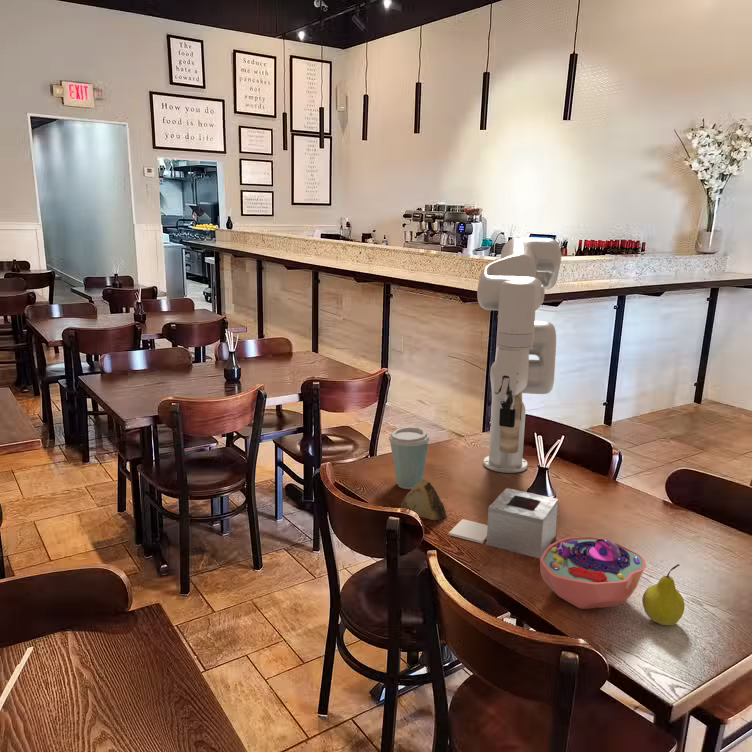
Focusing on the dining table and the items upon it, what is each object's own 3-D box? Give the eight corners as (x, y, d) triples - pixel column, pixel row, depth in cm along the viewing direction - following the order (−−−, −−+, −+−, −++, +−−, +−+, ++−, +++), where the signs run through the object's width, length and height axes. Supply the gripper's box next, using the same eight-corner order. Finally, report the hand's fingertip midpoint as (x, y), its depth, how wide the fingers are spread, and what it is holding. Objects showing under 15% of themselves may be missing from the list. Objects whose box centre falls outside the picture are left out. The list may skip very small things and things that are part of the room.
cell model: (518, 585, 129) (521, 532, 127) (601, 567, 136) (606, 517, 134) (571, 635, 114) (577, 576, 111) (662, 612, 121) (669, 556, 118)
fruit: (633, 621, 118) (640, 560, 115) (650, 605, 123) (657, 547, 120) (672, 638, 113) (681, 575, 111) (688, 621, 118) (696, 561, 115)
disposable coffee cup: (413, 496, 170) (414, 441, 166) (380, 485, 176) (380, 432, 173) (435, 483, 178) (437, 430, 175) (402, 474, 184) (403, 422, 181)
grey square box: (504, 523, 155) (506, 487, 153) (555, 535, 150) (558, 498, 147) (486, 544, 145) (488, 507, 143) (540, 558, 139) (543, 519, 137)
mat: (462, 521, 156) (462, 519, 156) (494, 529, 152) (494, 526, 152) (448, 535, 149) (448, 532, 149) (482, 543, 146) (482, 541, 145)
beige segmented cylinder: (502, 445, 146) (506, 376, 142) (520, 448, 144) (524, 378, 141) (496, 451, 143) (500, 380, 139) (514, 454, 141) (519, 382, 137)
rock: (388, 502, 161) (410, 513, 152) (404, 471, 162) (427, 480, 154) (418, 520, 166) (442, 531, 157) (434, 490, 167) (458, 499, 159)
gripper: (509, 332, 147) (504, 411, 151) (484, 345, 132) (480, 431, 137) (542, 335, 143) (537, 415, 148) (521, 348, 129) (515, 437, 133)
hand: (510, 422), depth 142 cm, fingers closed on beige segmented cylinder, 4 cm apart
